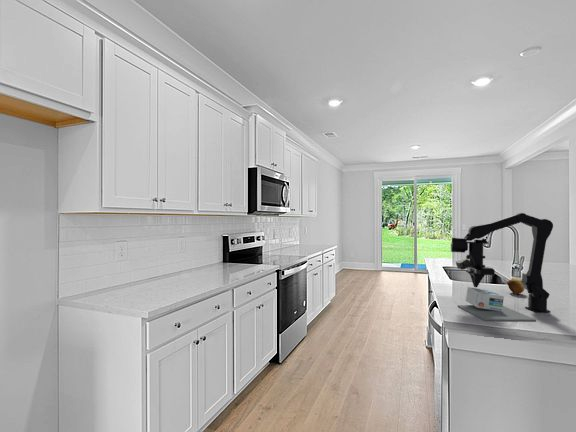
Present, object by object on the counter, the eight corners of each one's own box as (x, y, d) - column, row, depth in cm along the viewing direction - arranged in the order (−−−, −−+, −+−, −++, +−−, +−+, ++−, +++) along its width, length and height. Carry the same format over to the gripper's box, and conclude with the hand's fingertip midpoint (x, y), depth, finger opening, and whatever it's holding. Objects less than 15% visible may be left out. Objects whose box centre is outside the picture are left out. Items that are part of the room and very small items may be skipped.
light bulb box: (491, 290, 149) (505, 296, 138) (489, 305, 149) (502, 312, 138) (466, 286, 150) (478, 292, 139) (464, 301, 150) (476, 307, 139)
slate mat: (535, 321, 128) (536, 319, 128) (485, 320, 128) (485, 319, 128) (501, 306, 148) (501, 305, 148) (457, 306, 148) (457, 305, 148)
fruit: (517, 296, 168) (517, 280, 168) (502, 292, 176) (503, 277, 176) (528, 295, 170) (529, 279, 170) (513, 291, 178) (514, 276, 178)
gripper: (448, 250, 160) (447, 282, 160) (470, 255, 142) (469, 291, 142) (471, 250, 160) (470, 282, 161) (495, 255, 142) (495, 292, 142)
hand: (475, 287), depth 151 cm, fingers closed
